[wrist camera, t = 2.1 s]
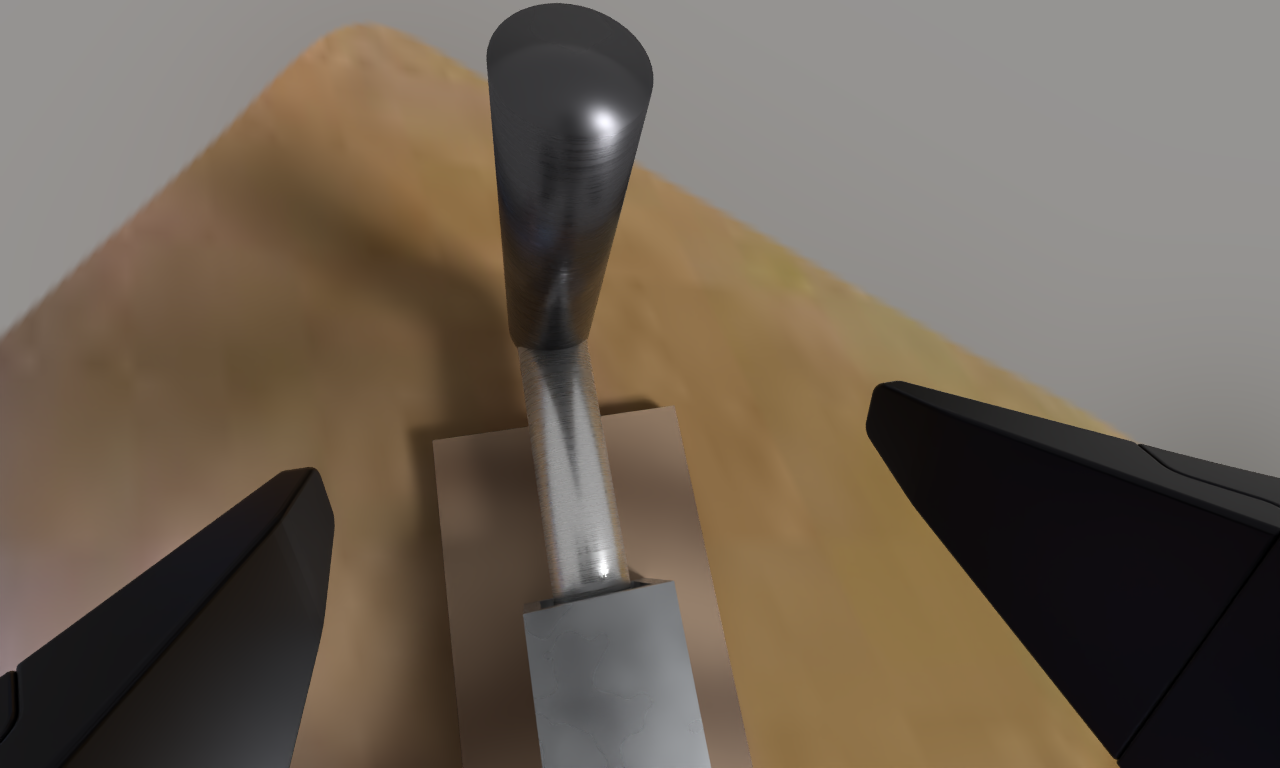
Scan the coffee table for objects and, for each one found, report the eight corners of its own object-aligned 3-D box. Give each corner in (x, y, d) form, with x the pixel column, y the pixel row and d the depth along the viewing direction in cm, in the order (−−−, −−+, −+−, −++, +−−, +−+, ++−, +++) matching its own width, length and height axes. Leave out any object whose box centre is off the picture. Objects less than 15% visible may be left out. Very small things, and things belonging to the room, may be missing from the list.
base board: (799, 1027, 17) (814, 1053, 16) (504, 1158, 15) (502, 1197, 14) (668, 411, 23) (674, 405, 22) (436, 445, 21) (432, 440, 20)
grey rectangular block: (693, 842, 18) (742, 922, 14) (560, 888, 17) (570, 988, 13) (645, 577, 20) (674, 580, 16) (524, 603, 19) (522, 614, 15)
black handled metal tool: (666, 786, 17) (938, 1224, 6) (575, 814, 16) (679, 1371, 5) (579, 301, 21) (636, 5, 10) (505, 308, 21) (477, 0, 9)
